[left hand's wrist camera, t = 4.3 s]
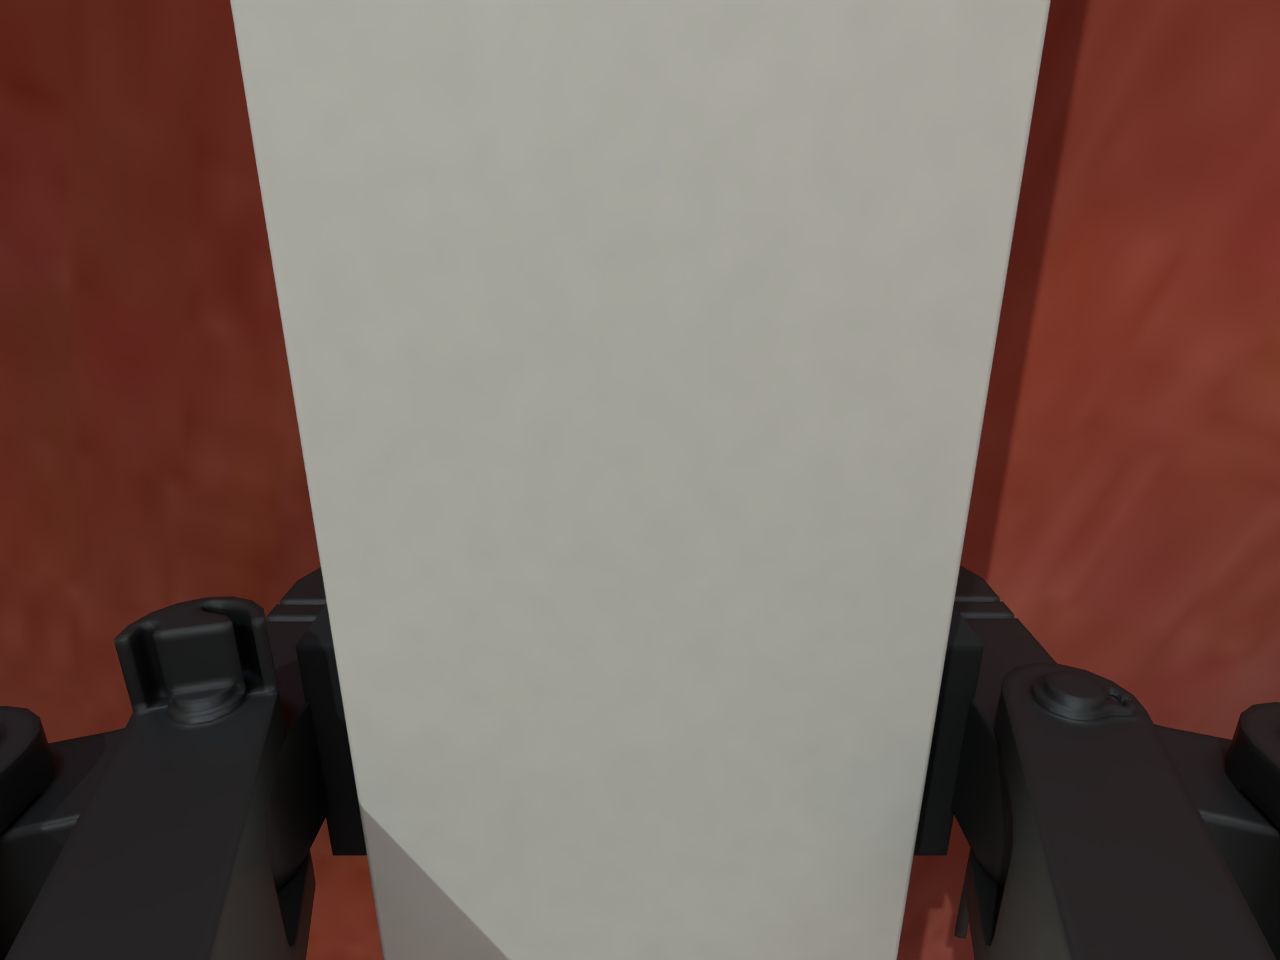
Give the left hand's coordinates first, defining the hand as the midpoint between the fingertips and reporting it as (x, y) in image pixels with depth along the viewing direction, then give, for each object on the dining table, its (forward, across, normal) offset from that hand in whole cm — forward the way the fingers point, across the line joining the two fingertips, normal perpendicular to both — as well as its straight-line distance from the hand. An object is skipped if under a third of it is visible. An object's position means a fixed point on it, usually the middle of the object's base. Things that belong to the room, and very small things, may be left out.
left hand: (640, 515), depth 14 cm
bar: (0, 0, -8) cm, 8 cm away
